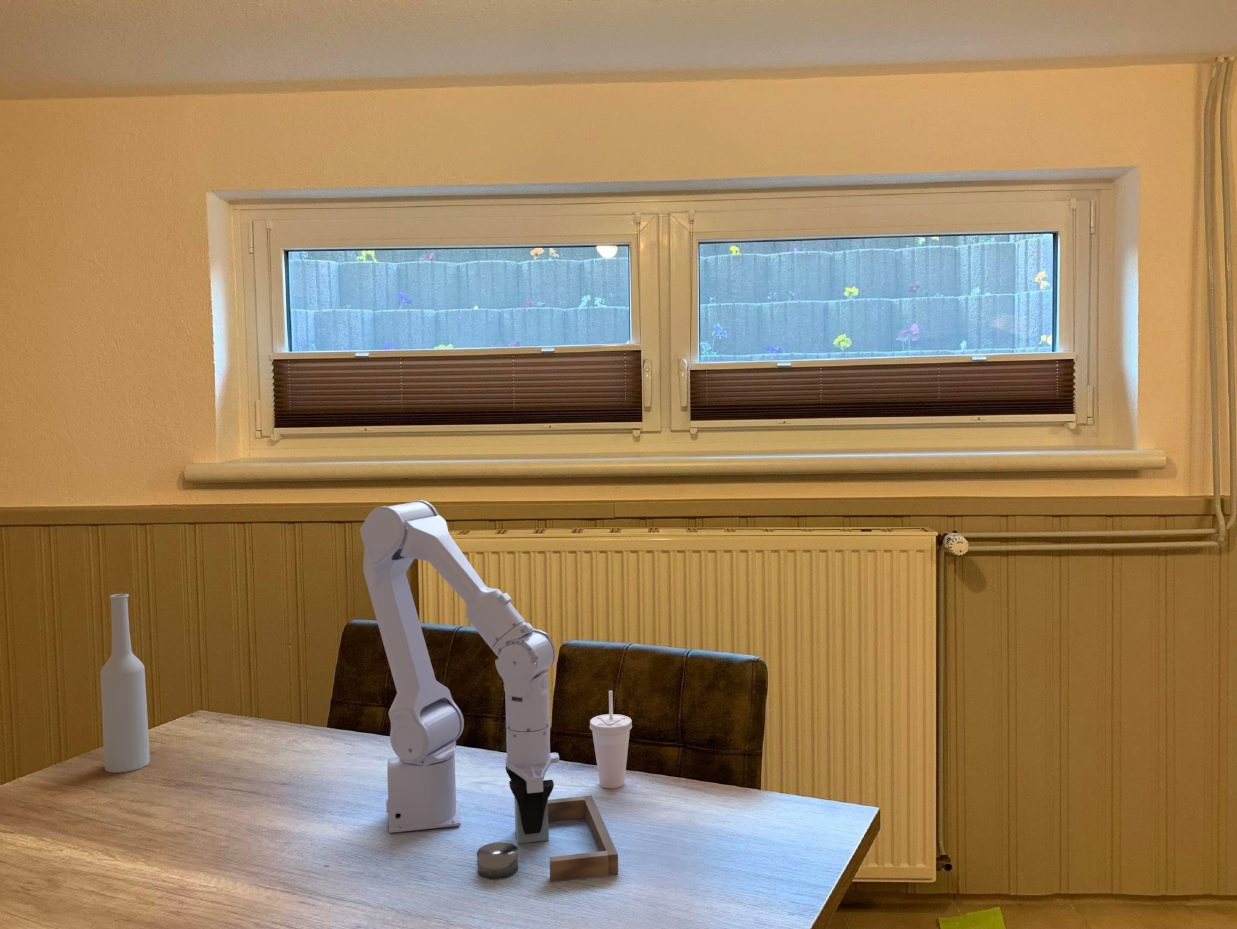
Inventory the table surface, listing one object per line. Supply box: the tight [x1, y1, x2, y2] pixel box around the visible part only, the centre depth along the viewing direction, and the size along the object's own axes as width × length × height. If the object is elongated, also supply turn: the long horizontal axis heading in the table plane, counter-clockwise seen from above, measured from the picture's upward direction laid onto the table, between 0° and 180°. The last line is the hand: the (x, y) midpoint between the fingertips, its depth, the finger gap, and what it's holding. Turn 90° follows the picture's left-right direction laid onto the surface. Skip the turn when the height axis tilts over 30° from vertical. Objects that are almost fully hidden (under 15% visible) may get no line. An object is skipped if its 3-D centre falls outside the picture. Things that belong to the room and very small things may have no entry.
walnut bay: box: [548, 795, 619, 883], centre depth 127 cm, size 8×18×2 cm, turn 12°
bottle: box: [99, 593, 151, 774], centre depth 158 cm, size 7×7×28 cm
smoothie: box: [589, 690, 633, 789], centre depth 147 cm, size 6×6×14 cm
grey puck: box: [476, 841, 519, 881], centre depth 120 cm, size 5×5×2 cm
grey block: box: [513, 795, 550, 844], centre depth 130 cm, size 4×4×6 cm
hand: (530, 825), depth 130 cm, fingers closed on grey block, 4 cm apart
